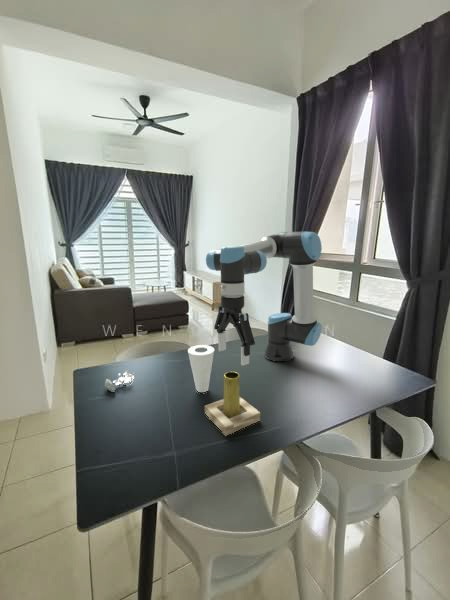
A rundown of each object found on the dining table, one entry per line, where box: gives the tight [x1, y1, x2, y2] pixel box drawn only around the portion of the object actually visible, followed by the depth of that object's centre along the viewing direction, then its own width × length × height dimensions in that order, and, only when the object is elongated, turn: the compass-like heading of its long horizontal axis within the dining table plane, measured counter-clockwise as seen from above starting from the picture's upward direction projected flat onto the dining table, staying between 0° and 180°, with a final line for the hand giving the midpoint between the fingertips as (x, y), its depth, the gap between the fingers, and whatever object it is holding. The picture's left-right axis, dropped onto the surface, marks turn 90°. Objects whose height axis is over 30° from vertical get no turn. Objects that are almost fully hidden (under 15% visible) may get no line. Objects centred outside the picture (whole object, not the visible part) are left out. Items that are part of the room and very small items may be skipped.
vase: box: [223, 371, 241, 417], centre depth 98 cm, size 6×6×14 cm
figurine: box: [104, 368, 135, 390], centre depth 121 cm, size 9×6×12 cm
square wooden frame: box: [204, 396, 261, 437], centre depth 100 cm, size 14×14×4 cm
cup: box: [187, 344, 215, 393], centre depth 116 cm, size 11×11×18 cm
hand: (233, 356), depth 96 cm, fingers open, 13 cm apart
